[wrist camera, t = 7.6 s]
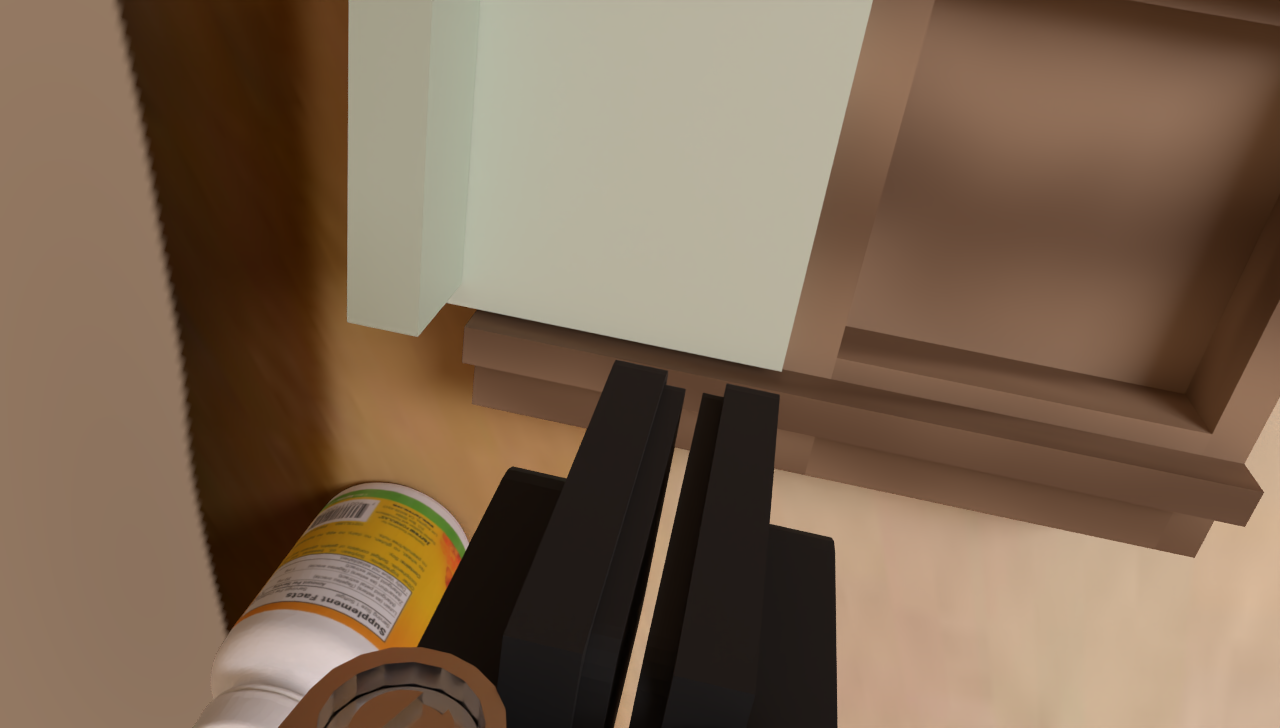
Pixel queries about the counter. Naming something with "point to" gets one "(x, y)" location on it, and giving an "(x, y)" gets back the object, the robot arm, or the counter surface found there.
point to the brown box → (1015, 273)
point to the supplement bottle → (336, 601)
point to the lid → (595, 163)
